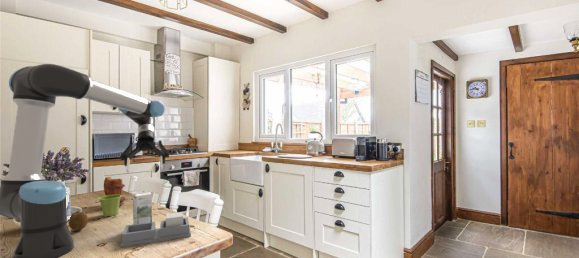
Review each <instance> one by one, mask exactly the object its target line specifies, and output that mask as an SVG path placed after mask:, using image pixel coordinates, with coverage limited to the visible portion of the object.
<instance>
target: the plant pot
mask: <svg viewBox="0 0 579 258" xmlns="http://www.w3.org/2000/svg"><path fill="white" fill-rule="evenodd" d="M121 196H122V195H107V196H106V195H103V196H100V197H98V198H97V199H98V200H99V203H100V205H101V206H100V207H101V211H102V215H103V217H106V218H107V217H113V216H117V215H118V214H119V209H120V206H119V203H120V199H121Z"/></svg>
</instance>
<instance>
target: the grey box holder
mask: <svg viewBox="0 0 579 258" xmlns="http://www.w3.org/2000/svg"><path fill="white" fill-rule="evenodd" d="M188 237H192V232H191V227H190V222H189V218H188V217H184V212H183V211H180V212H173V213H166V214H165V220H160V227H159V228H156V221H152V222H149V223H142V224H134V225H133V224H129V225H128V224H127V225H125V228H124V229H123V232H122V235H121V241H120V245H119V246H120V248H125V247H131V246H138V245H144V244H150V243H151V244H152V243H156V242H157V243H158V242H164V241H170V240H176V239H182V238H188Z"/></svg>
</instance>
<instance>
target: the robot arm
mask: <svg viewBox="0 0 579 258" xmlns="http://www.w3.org/2000/svg"><path fill="white" fill-rule="evenodd" d="M8 86H9V89H10V91H12V93H13V94H12V95H13V96H12V101H13V102H14V103H15V104H16V105H17V110H16V118H15V123H14V130H13V137H12V146H11V152H10V157H9V158H10V159H9V166H8V173H7V174H6V175H4V177H2V178H1V179H0V215H2V216H3V217H5V218H10V219H17V220H19V221H20V236H19V240H18V242H17V244H16V247H15V249H14V252H13V258H59V257H62V256H63V255H66V254H67V253H69V252H72V250H74V247H75V246H74V245H75V242H74V241H75V240H74V238H73V236H72V233H71V232H70V230H69V228H68V222H67V212H66V195H67V193H66V188H65V187H66V185H65V184H64V183H63V182H62V181H57V180H46V177H45V175H43V174H42V169H43V168H42V167H43V166H42V165H43V159H44V151H45V144H46V135H47V128H48V120H49V113H50V109H51V108H53V107H55V105H56V101H57V100H56V99H57V98H58V97H63V98H64V97H66V98H73V99H77V100H82V99H87V100H89V101H93V102H96V103H100V104H104V105H107V106H111V107H114V108H117V109H118V110H119V111H120V112H121V113H122V114H123V115H125V117H127V118H129V119H130V120H131V121H133V122H134V123H136V124H137V125H138V128H137V142H133V141H129V144H128V146H127V147H126V148H125V149H124V151H123V152H122V153H121V154H120V155H119V157H120V161H124V163H123V164H124V167H126V168H125V169H126V174H129V173H130V166H131V159H132V158H134V157H135V156H136V155H137V154H139V153H140V152H150V151H151V152H152V153H153V152H154V153H155V154H156V155H157V156H159V157H160V172H161V171H163V167H164V165H163V164H166V159H168V158H170V152H169V151H168V150H167V149H166V147H165V145H163V143H162V140H158V141H156V140H155V139H156V138H155V137H156V136H155V134H156V123H155V122H156V118H159V117H162V116H163V115H164V113H165V110H166V109H165V108H166V107H165V105H164V103H163V102H162V101H160V100H150V99H149V98H144V97H142V96H139V95H136V94H133V93H129V92H127V91H124V90H122V89H118V88H116V87H114V86H111V85H107V84H104V83H103V82H100V81H96V80H94V79H91V77H90V76H89V75H87V74H85V73H83V72H79V71H77V70H74V69H71V68H68V67H65V66H63V65H58V64H54V63H42V64H38V65H31V66H30V65H28V66H25V67H21V68H20V69H17V70H15V71H14V72H13V73H12V74H11V75H10V77H9V80H8ZM156 146H157V147H158V148H159V149H158V148H157V147H156Z"/></svg>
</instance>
